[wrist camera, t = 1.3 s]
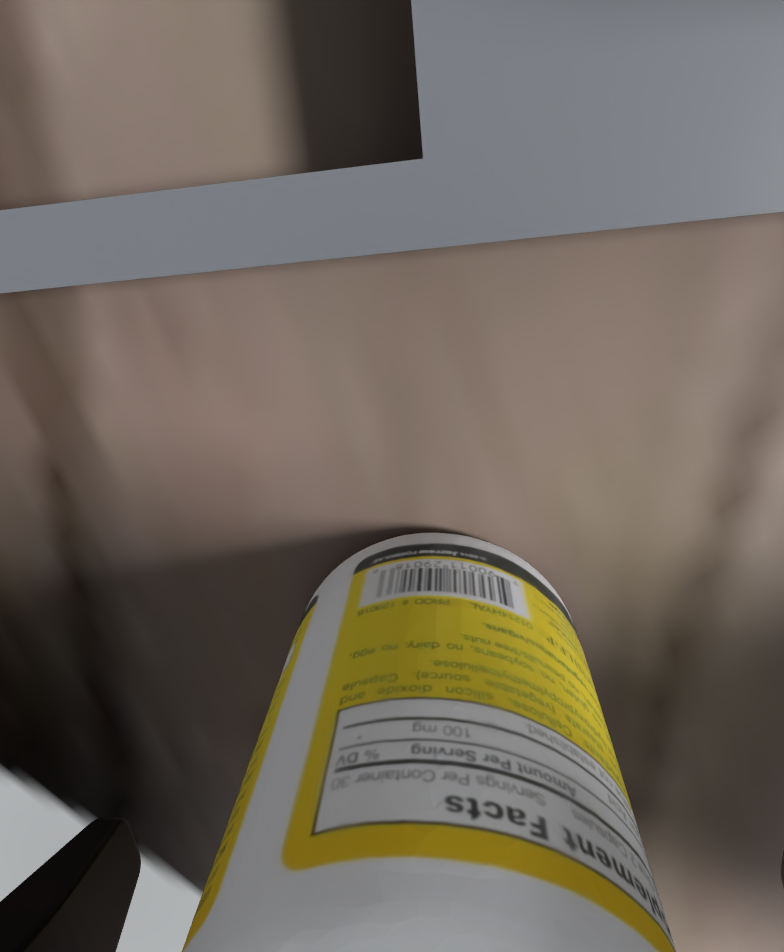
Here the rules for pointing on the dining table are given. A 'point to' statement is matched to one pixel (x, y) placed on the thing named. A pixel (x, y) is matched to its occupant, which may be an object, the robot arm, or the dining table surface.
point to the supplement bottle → (433, 775)
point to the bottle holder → (480, 149)
